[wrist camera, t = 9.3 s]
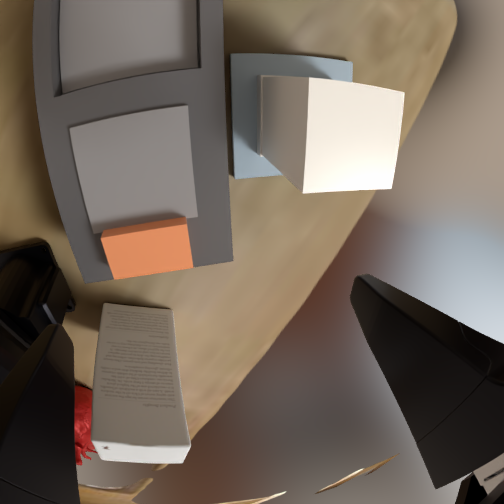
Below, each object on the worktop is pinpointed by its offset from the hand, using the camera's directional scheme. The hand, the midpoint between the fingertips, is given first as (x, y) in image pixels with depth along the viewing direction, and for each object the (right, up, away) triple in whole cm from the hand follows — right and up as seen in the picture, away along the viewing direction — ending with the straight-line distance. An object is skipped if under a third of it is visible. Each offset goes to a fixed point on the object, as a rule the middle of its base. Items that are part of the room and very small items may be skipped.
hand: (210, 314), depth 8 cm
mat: (+4, +10, +9) cm, 14 cm away
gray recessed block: (-5, +14, +4) cm, 15 cm away
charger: (+4, +10, +9) cm, 14 cm away
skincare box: (-9, -4, +15) cm, 18 cm away
